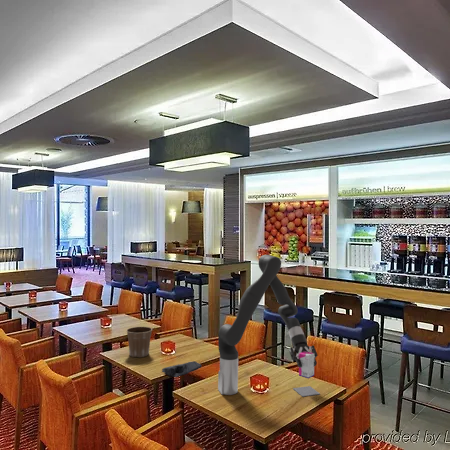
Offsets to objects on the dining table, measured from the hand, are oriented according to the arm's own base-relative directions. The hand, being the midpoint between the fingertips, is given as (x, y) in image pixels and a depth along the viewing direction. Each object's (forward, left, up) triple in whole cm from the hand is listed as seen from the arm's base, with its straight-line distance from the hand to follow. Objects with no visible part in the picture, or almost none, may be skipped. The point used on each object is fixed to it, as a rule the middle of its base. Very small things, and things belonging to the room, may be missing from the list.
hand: (308, 366), depth 205 cm
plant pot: (-75, +82, -14) cm, 112 cm away
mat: (0, +1, -13) cm, 13 cm away
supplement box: (0, +1, -5) cm, 6 cm away
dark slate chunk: (-54, +48, -14) cm, 74 cm away
